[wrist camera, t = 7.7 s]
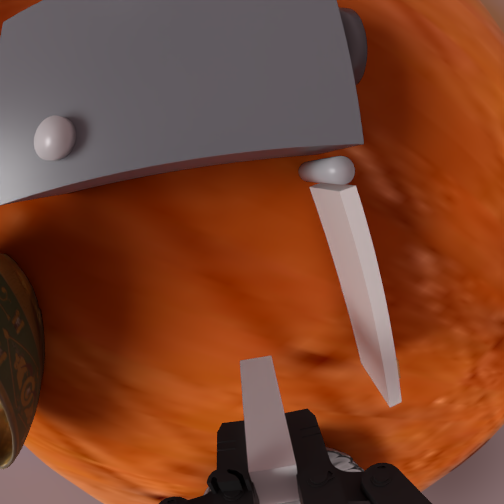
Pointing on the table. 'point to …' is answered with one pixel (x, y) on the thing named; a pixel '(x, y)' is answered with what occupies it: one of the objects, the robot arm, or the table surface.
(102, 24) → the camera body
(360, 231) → the door
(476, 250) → the table surface
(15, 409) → the cup
